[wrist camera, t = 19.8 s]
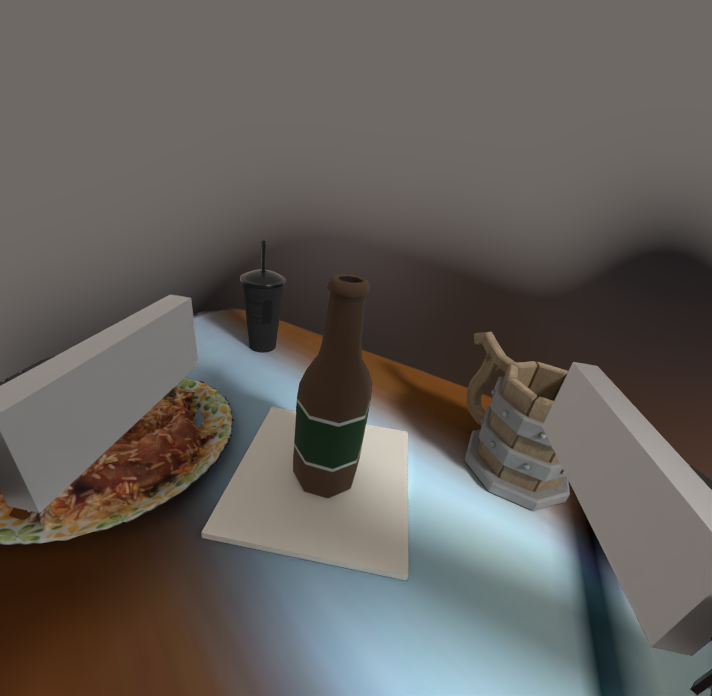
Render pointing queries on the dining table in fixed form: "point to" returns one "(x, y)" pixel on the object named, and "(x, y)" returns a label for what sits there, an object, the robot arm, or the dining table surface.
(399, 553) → the square board
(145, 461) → the rice dish
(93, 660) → the dining table surface
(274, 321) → the drinking cup
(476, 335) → the tankard
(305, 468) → the beer bottle
